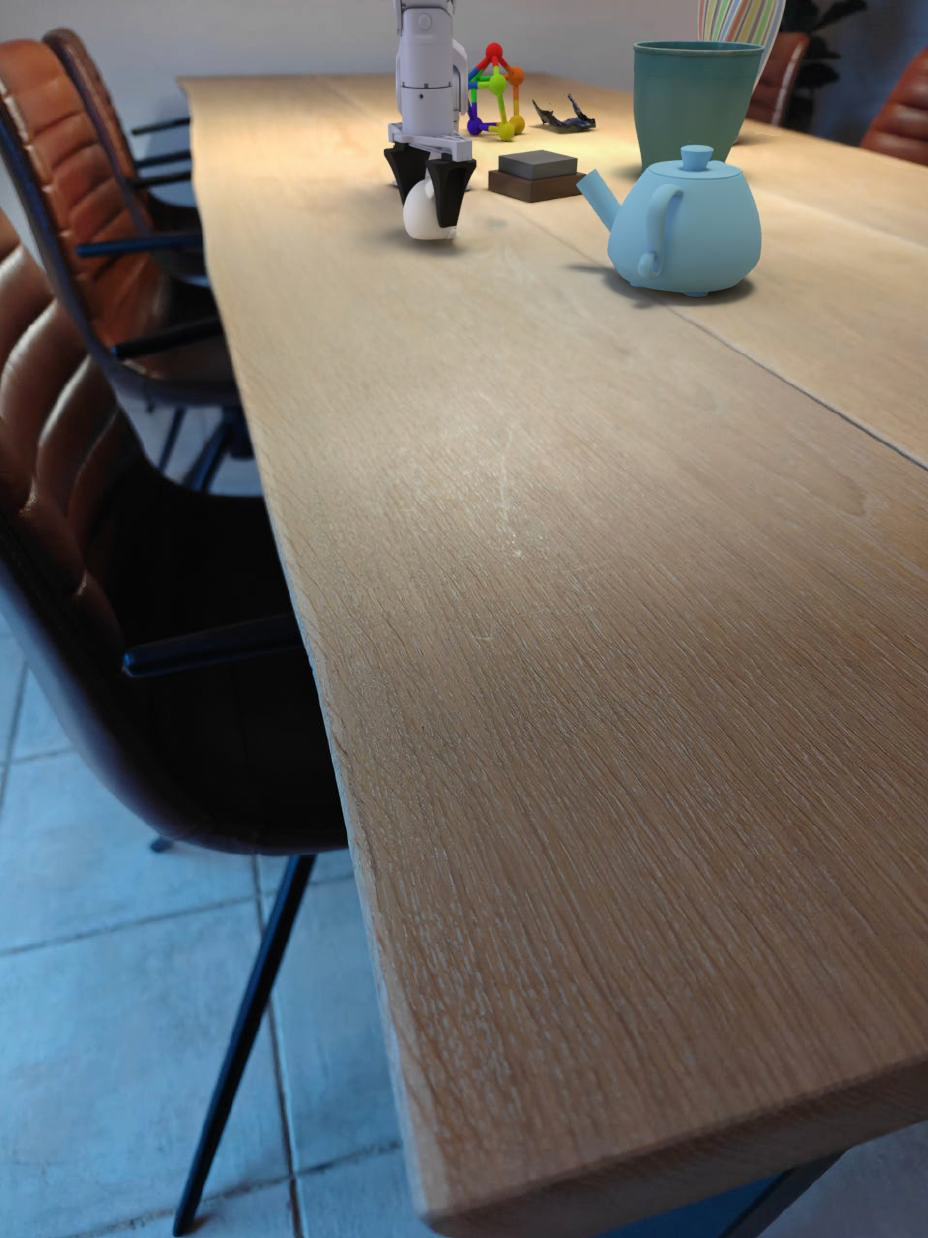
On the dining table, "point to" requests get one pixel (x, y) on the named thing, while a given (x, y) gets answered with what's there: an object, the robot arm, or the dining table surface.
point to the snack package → (579, 122)
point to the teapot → (681, 224)
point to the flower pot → (691, 95)
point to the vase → (741, 24)
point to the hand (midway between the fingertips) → (430, 219)
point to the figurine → (424, 213)
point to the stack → (535, 176)
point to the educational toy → (497, 88)
